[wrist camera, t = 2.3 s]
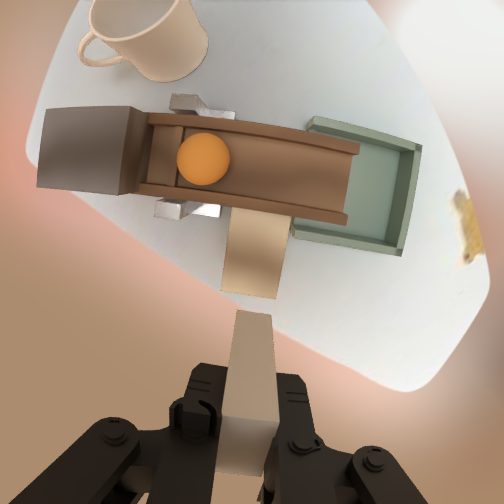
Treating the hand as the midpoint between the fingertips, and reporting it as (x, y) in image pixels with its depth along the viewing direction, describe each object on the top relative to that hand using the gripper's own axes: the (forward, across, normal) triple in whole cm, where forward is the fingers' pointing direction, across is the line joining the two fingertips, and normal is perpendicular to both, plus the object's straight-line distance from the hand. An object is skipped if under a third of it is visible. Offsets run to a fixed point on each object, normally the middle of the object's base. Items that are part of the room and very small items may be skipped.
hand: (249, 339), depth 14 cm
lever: (+12, -5, +4) cm, 13 cm away
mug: (+20, -14, +20) cm, 32 cm away
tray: (+20, +9, +8) cm, 23 cm away
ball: (+9, -5, +8) cm, 12 cm away
